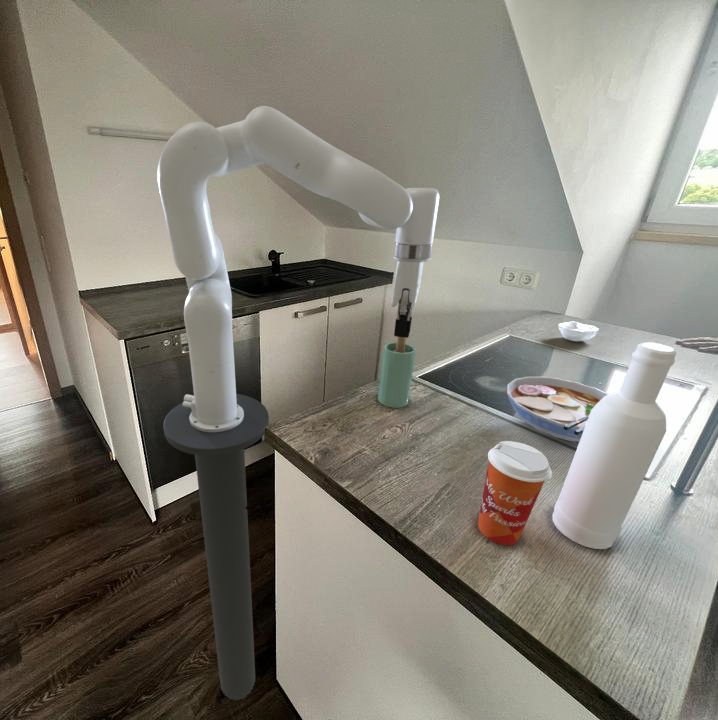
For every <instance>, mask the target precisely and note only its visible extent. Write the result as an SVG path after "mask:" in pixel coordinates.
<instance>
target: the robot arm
mask: <svg viewBox="0 0 718 720" xmlns="http://www.w3.org/2000/svg"><path fill="white" fill-rule="evenodd" d="M264 164H265V165H267V166H269V168H272V169H273V170H275V171H277V172H278V173H280V174H282V175H284V176H285V177H286V178H288V179H290V180H292V181H294V182H295V183H296V184H298V185H300V186H301V187H303V188H304V189H306V190H308V191H310V192H312V193H314V194H316V195H319V196H322V197H325V198H328V199H331V200H334V201H336V202H338V203H341V204H343V205H345V206H347V207H348V208H350V209H352V210H354V211H356V212H357V213H358V215H359V217H360V219H361V221H362V222H364V223H365V224H367V225H368V226H371V227H375V228H381V229H384V230H389V231H391V230H395V237H394V247H393V256H392V257H393V260H395V261H397V262H396V267H395V273H394V274H395V275H394V281H393V288H392V295H391V301H390V307H392V308H395V307H397V312H396V313H397V314H396V318H395V323H394V330H393V331H394V332H393V336H394V337H396V338H397V337H404V338H406V339H408V338H409V337H410V333H411V329H412V319H413V316H412V313H413V309H414V308H415V306H416V304H417V301H418V296H419V293H420V289H421V282H422V277H423V271H424V264H425V262H430V261H431V258H432V250H433V243H434V237H435V231H436V229H435V228H436V224H437V216H438V210H439V204H440V203H439V202H440V192H439V190H438V189H437V188H433V187H408V188H405V187H404V186H402V185H401V184H399V183H398V182H396V181H395V180H393V179H392V178H390V177H389V176H387V175H386V174H384V172H381V171H379V169H376V168H375V167H373V166H371V165H369V164H367V163H365V162H363V161H361V160H359V159H358V158H355V157H354V156H352V155H350V154H348V153H347V152H345V151H343V150H341V149H339V148H337V147H335V146H333V145H332V144H331V143H329V142H327V141H325V140H324V139H322V138H321V137H319V136H317V134H314V133H313V132H312V131H310V130H309V129H307V128H305V127H304V126H302V125H301V124H299V123H298V122H297V121H295V120H293V119H292V118H290V116H288V115H286V114H284V113H283V112H281V111H279V110H278V109H276V108H274V107H271V106H268V105H260V106H256V107H254V108H253V109H252V110H251V111H250V112H249V113H248V114H247V115H246V117H245V118H244V119H242V120H239V121H236V122H232V123H229V124H226V125H221V126H218V127H215V126H214V125H212V124H210V123H209V122H205V121H193V122H189V123H187V124H185V125H183V126H182V127H180V128H179V129H177V130H176V132H174V133H173V135H171V137H170V138H169V139H168V140H167V141H166V143H165V145H164V147H163V149H162V151H161V154H160V157H159V160H158V166H157V184H158V190H159V191H158V192H159V196H160V201H161V205H162V209H163V214H164V218H165V224H166V229H167V232H168V237H169V241H170V242H169V243H170V246H171V251H172V256H173V260H174V264H175V267H176V268H177V269H178V271H179V272H180V273H181V274H182V275H183V276H184V278H185V281H186V286H187V290H188V295H187V297H186V299H185V302H184V306H183V320H184V327H185V332H186V338H187V343H188V353H189V361H190V371H191V378H192V379H191V380H192V388H193V389H192V391H193V394H188V393H187V394H185V395H184V396H183V402H182V403H183V404H182V405H183V407H187V408H188V407H189V408H191V409H192V412H191V414H190V417H189V418H190V423H191V425H192V426H193V427H194V428H195V429H197V430H200V431H203V432H210V433H215V432H223V431H227V430H230V429H232V428H234V427H236V426H237V425H239V424H240V423H241V422H242V420H243V418H244V411H243V409H242V408H241V407H240V406H239V405H237V401H236V394H237V384H236V367H235V365H236V364H235V350H234V349H235V348H234V333H233V332H234V331H233V311H232V310H233V295H232V289H231V284H230V279H229V274H228V269H227V263H226V258H225V253H224V248H223V244H222V241H221V239H220V238H219V236H218V235H217V233H216V232H215V230H214V229H215V228H214V225H213V220H212V216H211V215H212V214H211V208H210V203H209V199H208V193H207V185H208V181H209V179H216V178H220V177H223V176H225V175H231V174H233V173H234V174H235V173H237V172H240V171H244V170H245V171H246V170H249V169H253V168H255V167H258V166H261V165H264ZM407 310H408V311H407Z"/></svg>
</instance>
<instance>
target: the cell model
mask: <svg viewBox="0 0 718 720" xmlns="http://www.w3.org/2000/svg"><path fill="white" fill-rule="evenodd" d="M557 326H558V330H559V332H560V334H561V336H562V338H564V339H566V340H568V341H571V342H583V341H589V340H591V339H592V338H594V337H596V336H597V334H598V332H599V328H598V327H596V326H594V325H590V324H586V323H581V322H577V321H575V320H573V321H567V322H560V323H558V325H557Z"/></svg>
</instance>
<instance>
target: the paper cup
mask: <svg viewBox="0 0 718 720" xmlns="http://www.w3.org/2000/svg"><path fill="white" fill-rule="evenodd" d="M487 458H488V464H487V469H486V473H485V479H484V480H485V481H484V486H483V492H482V497H481V503H480V509H479V513H478V514H479V515H478V521H477V525H478V529H479V531H480V533H481V534H482V535H483V536H484V537H485V538H487V539H488V540H490V541H491V542H492V543H495V544H498V545H500V546H501V545H502V546H511V545H514V544H517V542H518V541H519V539H520V538H521V535H522V534H523V531H524V529H525V527H526V524H527V522H528V520H529V517H530V515H531V513H532V511H533V509H534V506H535V504H536V503H537V500H538V497H539V495H540V493H541V491H542V488H543V486H544V484H545V482H546V481H547V480H550V479H551V478H552V477H553V471H552V470H551V465H550V463H549V460H548V458H547V457H546V455H545V454H544V453H542V452H541V451H539V450H538V449H536V448H535V447H533V446H532V445H531V446H530V445H528V444H526V443H523V442H519V441H512V440H504V441H500V442H498V443H497V444H496V445H495V446H493V447H492V448H491V449H489V451H488V453H487Z"/></svg>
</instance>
